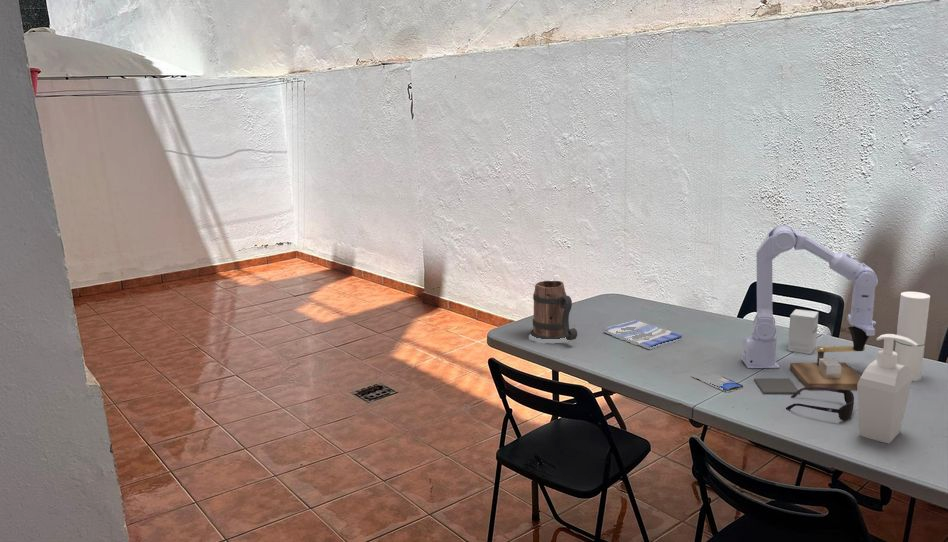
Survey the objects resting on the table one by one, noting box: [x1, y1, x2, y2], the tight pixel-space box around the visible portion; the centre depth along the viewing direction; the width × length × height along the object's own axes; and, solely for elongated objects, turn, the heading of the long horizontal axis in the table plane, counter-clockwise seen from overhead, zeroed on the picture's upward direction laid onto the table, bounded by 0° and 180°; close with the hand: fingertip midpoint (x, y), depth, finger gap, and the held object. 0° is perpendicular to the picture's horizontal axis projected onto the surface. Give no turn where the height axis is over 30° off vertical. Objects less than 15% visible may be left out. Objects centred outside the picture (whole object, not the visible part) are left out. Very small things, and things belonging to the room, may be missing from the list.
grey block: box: [818, 357, 841, 379], centre depth 204 cm, size 4×6×4 cm, turn 173°
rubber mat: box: [753, 377, 801, 395], centre depth 202 cm, size 10×10×1 cm
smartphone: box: [709, 376, 744, 391], centre depth 208 cm, size 8×15×1 cm, turn 26°
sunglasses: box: [785, 386, 855, 422], centre depth 187 cm, size 14×16×5 cm
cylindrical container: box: [894, 291, 931, 382], centre depth 202 cm, size 7×7×25 cm
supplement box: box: [787, 308, 819, 355], centre depth 228 cm, size 7×7×13 cm
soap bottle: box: [856, 333, 918, 445], centre depth 169 cm, size 12×10×26 cm
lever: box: [816, 345, 865, 354], centre depth 210 cm, size 14×2×1 cm, turn 88°
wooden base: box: [789, 352, 861, 391], centre depth 205 cm, size 16×16×6 cm
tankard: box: [529, 280, 578, 341], centre depth 249 cm, size 24×17×20 cm
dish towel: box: [604, 319, 683, 348], centre depth 250 cm, size 17×24×3 cm
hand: (858, 350), depth 209 cm, fingers closed
